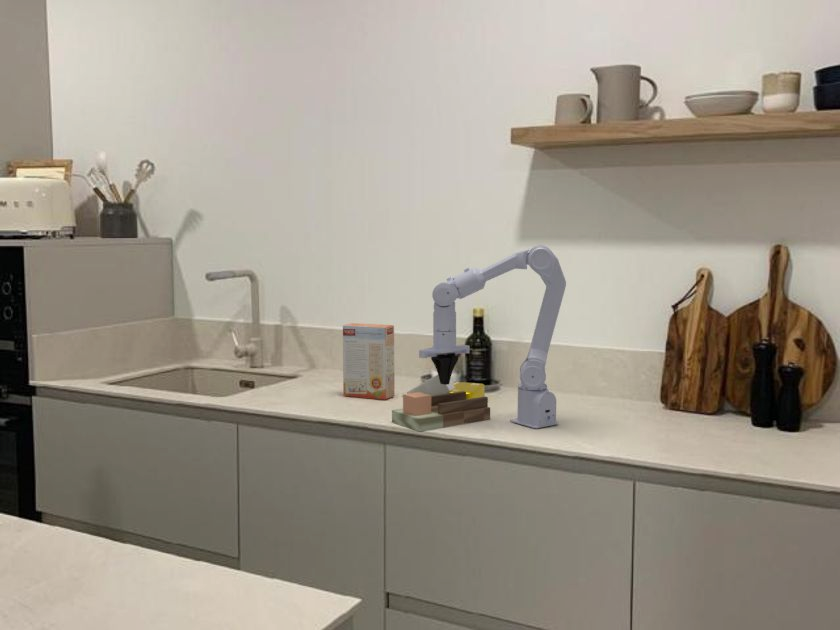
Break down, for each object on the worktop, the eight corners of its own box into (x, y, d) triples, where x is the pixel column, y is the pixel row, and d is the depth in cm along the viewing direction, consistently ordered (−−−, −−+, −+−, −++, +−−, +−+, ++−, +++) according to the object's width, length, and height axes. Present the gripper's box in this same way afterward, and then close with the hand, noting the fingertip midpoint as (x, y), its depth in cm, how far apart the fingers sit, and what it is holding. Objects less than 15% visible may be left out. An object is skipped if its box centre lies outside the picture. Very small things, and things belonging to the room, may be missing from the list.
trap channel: (490, 419, 212) (490, 397, 212) (419, 431, 200) (419, 408, 199) (460, 410, 222) (461, 390, 221) (391, 421, 209) (391, 400, 209)
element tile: (419, 405, 231) (419, 387, 231) (437, 394, 245) (437, 378, 245) (471, 409, 226) (471, 391, 226) (486, 398, 240) (486, 382, 240)
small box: (416, 411, 219) (450, 391, 217) (405, 392, 220) (439, 373, 217) (423, 407, 227) (456, 388, 225) (413, 389, 227) (446, 370, 225)
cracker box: (395, 396, 240) (395, 324, 238) (385, 400, 235) (385, 326, 233) (353, 392, 246) (352, 322, 244) (342, 396, 241) (342, 324, 239)
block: (431, 413, 205) (431, 395, 205) (414, 416, 202) (414, 397, 202) (419, 409, 209) (419, 392, 209) (403, 412, 207) (403, 394, 206)
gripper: (457, 326, 216) (457, 378, 218) (411, 330, 208) (412, 384, 209) (474, 329, 210) (474, 382, 212) (428, 333, 202) (428, 389, 203)
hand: (444, 383), depth 210 cm, fingers closed
